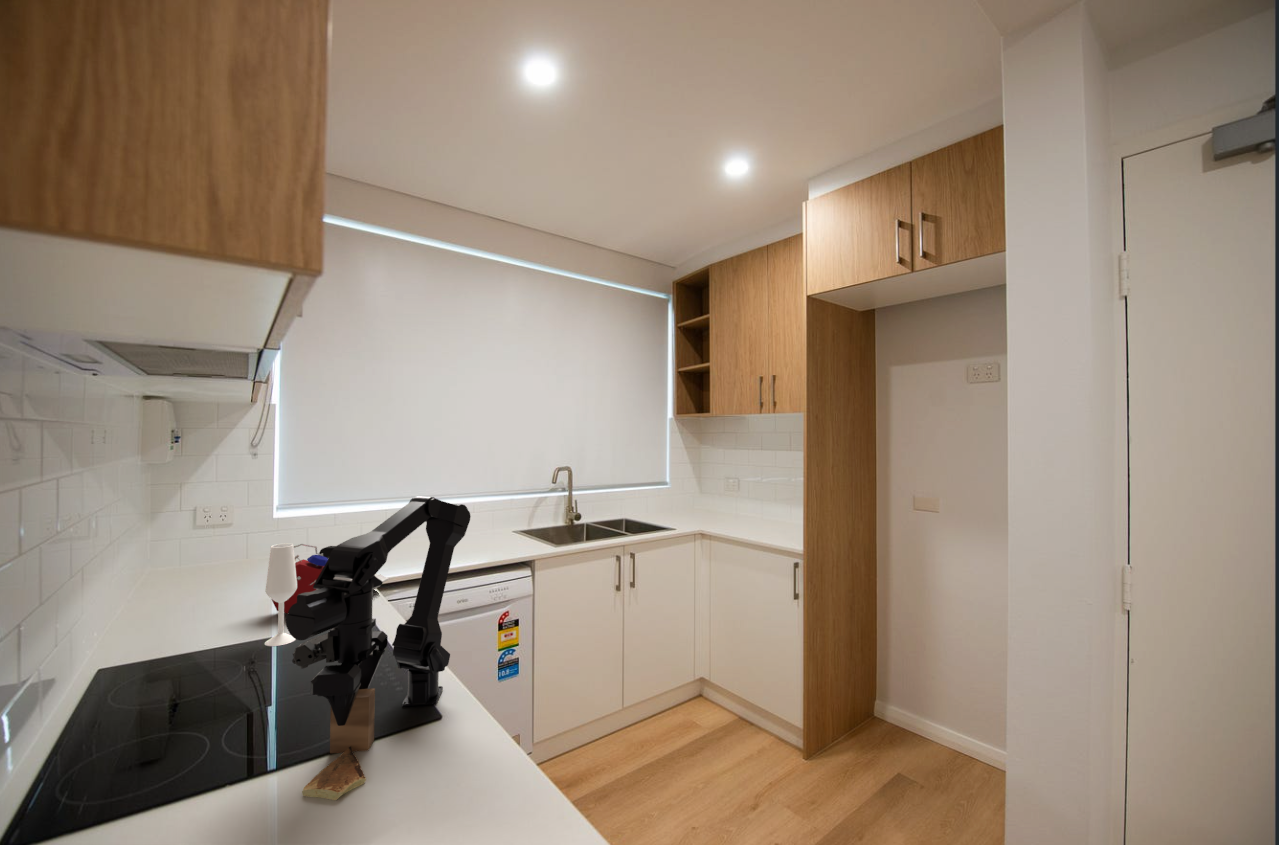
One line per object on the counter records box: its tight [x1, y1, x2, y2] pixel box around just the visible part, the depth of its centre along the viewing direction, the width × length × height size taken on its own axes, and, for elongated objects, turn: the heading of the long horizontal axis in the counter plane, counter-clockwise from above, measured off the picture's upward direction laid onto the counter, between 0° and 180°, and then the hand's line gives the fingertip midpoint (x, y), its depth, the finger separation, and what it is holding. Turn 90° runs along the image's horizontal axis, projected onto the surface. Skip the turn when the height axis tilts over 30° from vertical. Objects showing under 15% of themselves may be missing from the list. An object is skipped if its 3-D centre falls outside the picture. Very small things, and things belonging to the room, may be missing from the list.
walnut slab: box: [329, 687, 376, 754], centre depth 92 cm, size 3×6×9 cm, turn 99°
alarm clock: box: [270, 543, 328, 614], centre depth 155 cm, size 15×9×20 cm, turn 113°
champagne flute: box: [264, 543, 297, 647], centre depth 136 cm, size 7×7×24 cm
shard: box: [301, 746, 367, 801], centre depth 84 cm, size 11×8×2 cm
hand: (352, 710), depth 91 cm, fingers open, 9 cm apart
